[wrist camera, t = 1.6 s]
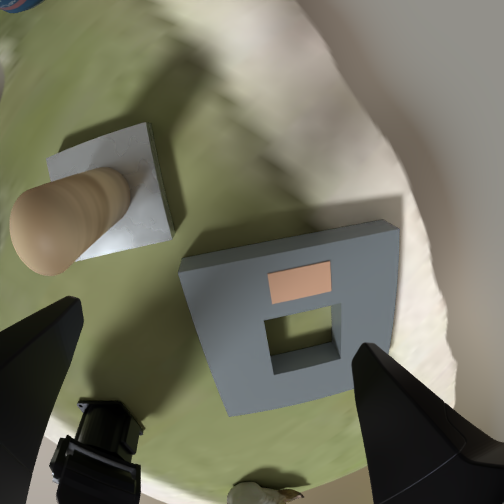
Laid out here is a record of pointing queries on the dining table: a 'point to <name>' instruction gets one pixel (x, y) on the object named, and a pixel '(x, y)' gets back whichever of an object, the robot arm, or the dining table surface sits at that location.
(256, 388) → the hole plate
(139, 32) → the dining table surface
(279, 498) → the ceramic sculpture
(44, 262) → the peg
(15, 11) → the soda can
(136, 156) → the plate
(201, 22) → the dining table surface
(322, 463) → the dining table surface
